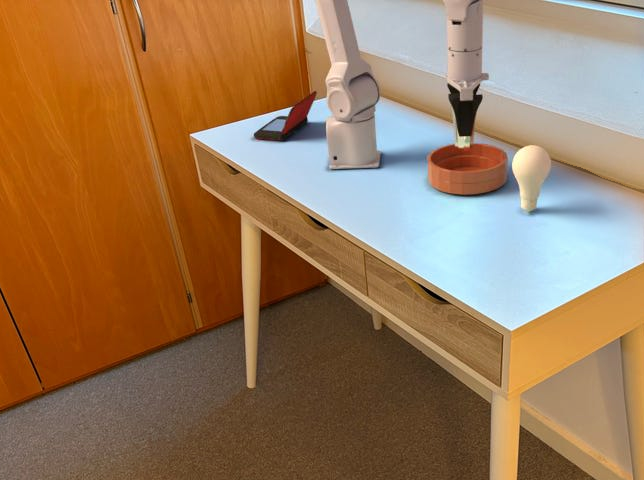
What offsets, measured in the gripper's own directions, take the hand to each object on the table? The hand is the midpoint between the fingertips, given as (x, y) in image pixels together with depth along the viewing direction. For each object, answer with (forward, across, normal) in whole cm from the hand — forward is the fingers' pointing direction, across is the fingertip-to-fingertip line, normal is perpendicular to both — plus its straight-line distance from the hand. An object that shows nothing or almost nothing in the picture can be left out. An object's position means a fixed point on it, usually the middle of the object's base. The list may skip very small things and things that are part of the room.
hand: (464, 130), depth 125 cm
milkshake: (+3, 0, 0) cm, 3 cm away
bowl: (+9, 0, -1) cm, 9 cm away
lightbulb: (+10, -13, -10) cm, 19 cm away
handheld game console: (+10, +30, +37) cm, 49 cm away
